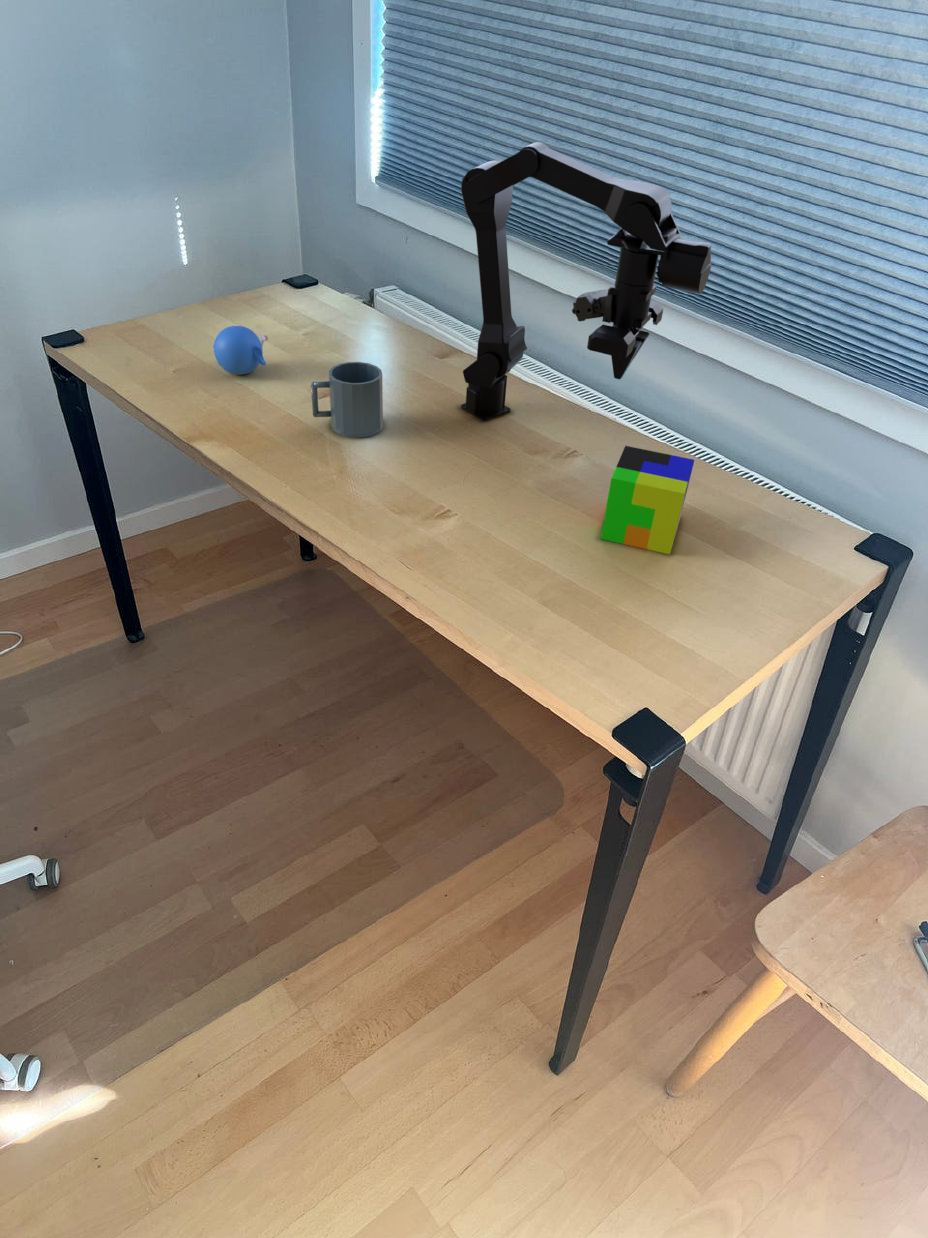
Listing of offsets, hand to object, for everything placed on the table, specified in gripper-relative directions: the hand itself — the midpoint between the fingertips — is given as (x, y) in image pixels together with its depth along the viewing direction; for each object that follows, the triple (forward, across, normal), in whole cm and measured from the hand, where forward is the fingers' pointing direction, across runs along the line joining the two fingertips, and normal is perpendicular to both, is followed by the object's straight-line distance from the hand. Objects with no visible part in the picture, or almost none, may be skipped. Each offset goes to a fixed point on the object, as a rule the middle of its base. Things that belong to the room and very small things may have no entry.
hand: (617, 377), depth 142 cm
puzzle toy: (+12, +22, +13) cm, 28 cm away
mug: (+12, +18, -40) cm, 45 cm away
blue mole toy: (+12, +9, -68) cm, 70 cm away
